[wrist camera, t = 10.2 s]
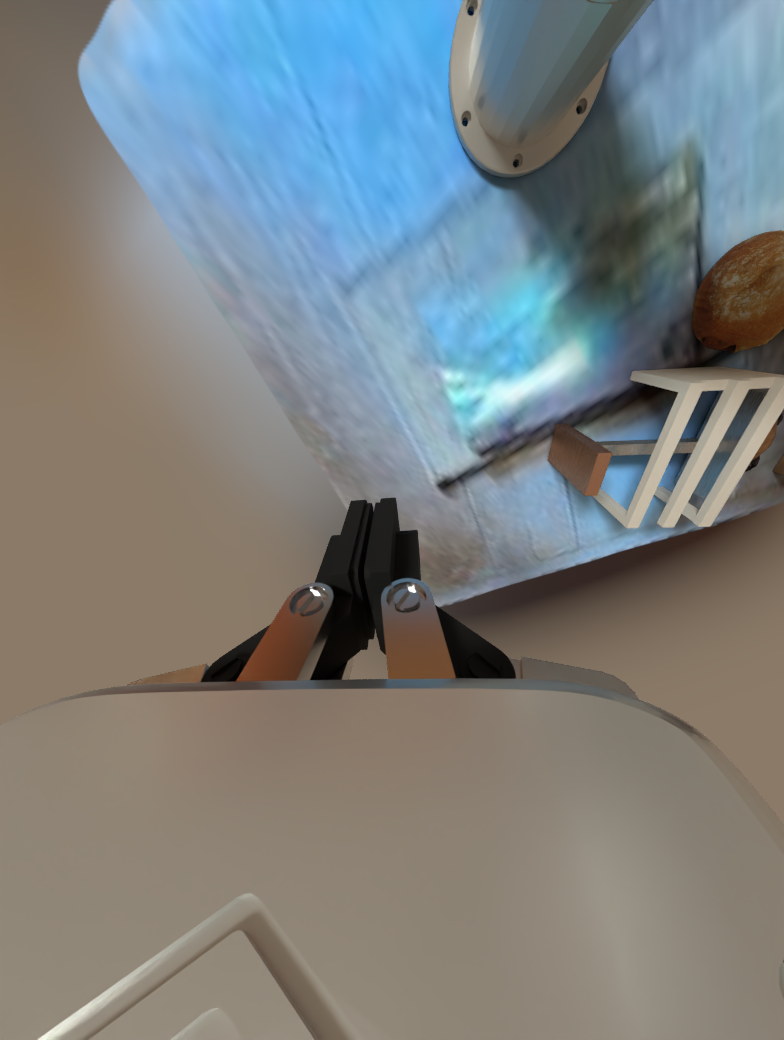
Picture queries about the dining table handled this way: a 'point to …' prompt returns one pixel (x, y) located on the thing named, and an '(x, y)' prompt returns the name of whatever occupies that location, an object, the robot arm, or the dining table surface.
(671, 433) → the white slatted rack
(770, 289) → the bread roll
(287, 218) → the dining table surface
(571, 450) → the rod with wooden block
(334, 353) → the dining table surface
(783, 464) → the bar
